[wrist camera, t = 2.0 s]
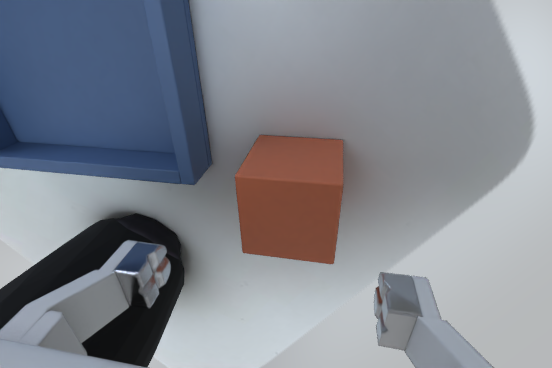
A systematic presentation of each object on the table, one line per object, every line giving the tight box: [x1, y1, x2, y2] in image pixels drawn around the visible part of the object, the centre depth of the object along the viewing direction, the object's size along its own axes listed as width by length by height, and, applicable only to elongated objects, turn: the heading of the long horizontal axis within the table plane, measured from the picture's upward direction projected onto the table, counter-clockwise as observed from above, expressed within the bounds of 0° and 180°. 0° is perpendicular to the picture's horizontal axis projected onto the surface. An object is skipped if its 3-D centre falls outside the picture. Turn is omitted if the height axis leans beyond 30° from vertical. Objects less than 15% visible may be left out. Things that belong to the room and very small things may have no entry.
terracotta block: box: [235, 135, 343, 264], centre depth 15 cm, size 4×4×4 cm
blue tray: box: [0, 0, 212, 185], centre depth 15 cm, size 14×12×2 cm
